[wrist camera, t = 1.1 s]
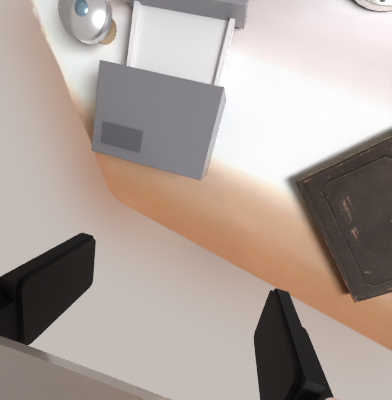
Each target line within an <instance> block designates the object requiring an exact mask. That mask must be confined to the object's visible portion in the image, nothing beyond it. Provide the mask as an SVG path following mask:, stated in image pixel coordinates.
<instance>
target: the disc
mask: <svg viewBox="0 0 392 400" xmlns="http://www.w3.org/2000/svg"><path fill="white" fill-rule="evenodd" d="M58 8H59V15H60V18H61V21H62V23H63V25H64V27H65V28H66V29H67V31H68V32H69V33H70V34H72V35H73V36H75V37H76V38H77V39H79V40H80V41H82V42H84V43H86V44H96V43H98V42H100V41H102V40H103V39H104V38H105V37H106V35H107V34H108V32H109V30H110V27H111V23H112V9H111V4H110V2H109V0H59V3H58Z"/></svg>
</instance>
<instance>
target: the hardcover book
mask: <svg viewBox="0 0 392 400" xmlns="http://www.w3.org/2000/svg"><path fill="white" fill-rule="evenodd" d="M296 184H297V186H298V188H299V190H300V192H301V194H302V196H303V198H304V200H305V202H306V204H307V206H308V208H309V210H310V212H311V214H312V216H313V218H314V221H315V223H316V225H317V227H318V229H319V231H320V233H321V235H322V237H323V239H324V241H325V243H326V245H327V247H328V249H329V251H330V253H331V255H332V258H333V260H334V262H335V264H336V266H337V268H338V270H339V272H340V274H341V276H342V278H343V280H344V282H345V284H346V286H347V288H348V290H349V292H350V295H351V297H352V299H353V301H354V302H355V303H356V302H359V301H363V300H366V299H370V298H373V297H377V296H380V295H384V294H387V293H391V292H392V136H390V137H388V138H386V139H384V140H382V141H380V142H377V143H375V144H373V145H371V146H369V147H367V148H365V149H363V150H361V151H358V152H356V153H354V154H352V155H350V156H348V157H346V158H344V159H342V160H339V161H337V162H335V163H333V164H331V165H329V166H327V167H325V168H323V169H320V170H318V171H316V172H314V173H312V174H310V175H308V176H306V177H304V178H301V179H299V180H297V181H296Z"/></svg>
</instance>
